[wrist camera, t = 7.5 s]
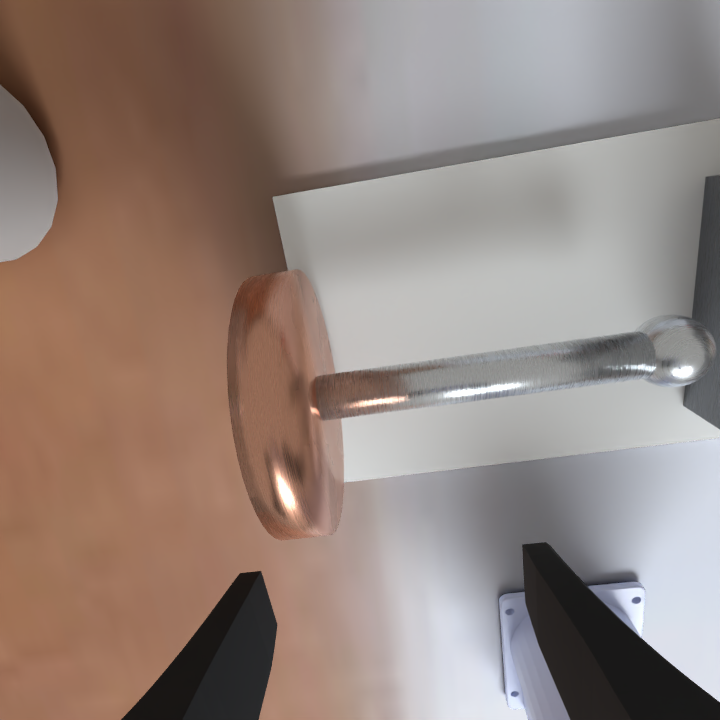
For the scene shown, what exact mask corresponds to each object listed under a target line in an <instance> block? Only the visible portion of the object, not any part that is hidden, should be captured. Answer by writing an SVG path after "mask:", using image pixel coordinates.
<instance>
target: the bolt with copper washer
mask: <svg viewBox="0 0 720 720" xmlns="http://www.w3.org/2000/svg"><path fill="white" fill-rule="evenodd" d="M715 358H716V343H715V340H714V338H713V336H712V334H711V333H710V331H709V330H708V329H707V328H706V327H705V326H704V325H703V324H701V323H700V322H699V321H697V320H695V319H692V318H690V317H687V316H682V315H672V314H670V315H662V316H657V317H654V318H652V319H649V320H647V321H646V322H644V323H642V324H641V325H640V326H639V327H638V328H637V329H636V330H635V331H634V332H627V333H619V334H612V335H605V336H598V337H591V338H584V339H577V340H569V341H562V342H555V343H548V344H541V345H534V346H526V347H519V348H512V349H505V350H498V351H491V352H484V353H476V354H469V355H462V356H455V357H448V358H441V359H433V360H426V361H419V362H412V363H405V364H398V365H391V366H383V367H376V368H369V369H362V370H355V371H348V372H340V373H335V369H334V363H333V358H332V353H331V348H330V343H329V339H328V334H327V330H326V326H325V322H324V319H323V315H322V312H321V308H320V305H319V302H318V299H317V297H316V294H315V292H314V289H313V287H312V285H311V283H310V281H309V279H308V278H307V276H306V275H305V274H304V273H303V272H302V271H301V270H298V269H295V270H289V271H283V272H277V273H270V274H264V275H258V276H253V277H250V278H248V279H247V280H245V281H244V282H243V284H242V285H241V287H240V288H239V290H238V293H237V295H236V298H235V301H234V305H233V308H232V312H231V319H230V325H229V334H228V346H227V378H228V396H229V407H230V416H231V423H232V430H233V437H234V442H235V447H236V452H237V457H238V461H239V465H240V469H241V473H242V477H243V480H244V483H245V486H246V489H247V492H248V495H249V498H250V501H251V503H252V505H253V508H254V510H255V512H256V514H257V516H258V518H259V520H260V521H261V523H262V525H263V526H264V527H265V529H266V530H267V531H268V533H269V534H271V535H272V536H273V537H274V538H276V539H279V540H290V539H299V538H308V537H317V536H327V535H332V534H334V533H335V531H336V529H337V528H338V525H339V521H340V517H341V512H342V504H343V493H344V451H343V434H342V422H341V419H342V418H349V417H357V416H365V415H372V414H380V413H387V412H395V411H403V410H410V409H418V408H426V407H433V406H441V405H449V404H456V403H464V402H471V401H479V400H487V399H494V398H502V397H510V396H517V395H525V394H533V393H540V392H548V391H556V390H563V389H571V388H578V387H586V386H594V385H601V384H609V383H617V382H624V381H632V380H640V379H643V380H645V381H647V382H649V383H651V384H654V385H657V386H661V387H681V386H685V385H688V384H691V383H694V382H696V381H697V380H699V379H700V378H702V377H703V376H704V375H705V374H706V373H707V372H708V371H709V370H710V369H711V367H712V365H713V363H714V361H715Z"/></svg>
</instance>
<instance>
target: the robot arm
mask: <svg viewBox="0 0 720 720" xmlns="http://www.w3.org/2000/svg"><path fill="white" fill-rule="evenodd" d="M522 547H523V568H524V588H525V592H518V593H508V594H504V595H502V596H501V597H500V598H499V608H500V622H501V636H502V650H503V665H504V679H505V693H506V701H507V705H508V707H509V708H511V709H525V711H526V714H527V718H528V720H720V702H719V701H717V700H716V699H715V698H713V697H712V696H711V695H710V694H708V693H707V692H706V691H704V690H703V689H702V688H700V687H699V686H698V685H697V684H695V683H694V682H693V681H692V680H690V679H689V678H688V677H687V676H685V675H684V674H683V673H682V672H680V671H679V670H678V669H677V668H675V667H674V666H673V665H672V664H671V663H669V662H668V661H667V660H666V659H665V658H663V657H662V656H661V655H660V654H659V653H658V652H656V651H655V650H654V649H653V648H652V647H651V646H650V645H648V644H647V643H646V642H645V641H644V640H643V639H642V631H643V619H644V606H645V593H646V592H645V589H644V587H643V586H642V585H641V584H640V583H639V582H624V583H614V584H603V585H593V586H587V585H586V584H585V583H584V582H583V581H582V580H581V579H580V578H579V577H578V576H577V575H576V574H575V573H574V572H573V571H572V570H571V568H570V567H569V566H568V565H567V564H566V563H565V562H564V561H563V560H562V559H561V557H560V556H559V555H558V554H557V553H556V552H555V551H554V549H553V548H552V547H551V546H550V545H549V544H547V543H546V542H544V543H534V544H524V545H522ZM509 608H510V609H509ZM276 631H277V622H276V619H275V616H274V612H273V609H272V606H271V602H270V599H269V596H268V592H267V589H266V586H265V583H264V579H263V576H262V573H261V571H257V572H247V573H240V574H239V575H238V577H237V578H236V579H235V581H234V582H233V583H232V585H231V586H230V587H229V589H228V590H227V591H226V593H225V594H224V595H223V597H222V598H221V600H220V601H219V602H218V604H217V605H216V606H215V608H214V609H213V610H212V612H211V613H210V614H209V616H208V617H207V618H206V620H205V621H204V622H203V624H202V625H201V626H200V628H199V629H198V630H197V632H196V633H195V634H194V635H193V637H192V638H191V639H190V641H189V642H188V643H187V645H186V646H185V647H184V648H183V650H182V651H181V652H180V653H179V655H178V656H177V657H176V658H175V659H174V661H173V662H172V663H171V664H170V665H169V667H168V668H167V669H166V670H165V671H164V673H163V674H162V675H161V676H160V677H159V679H158V680H157V681H156V682H155V683H154V684H153V686H152V687H151V688H150V689H149V690H148V691H147V692H146V694H145V695H144V696H143V697H142V698H141V699H140V700H139V701H138V702H137V704H136V705H135V706H134V707H133V708H132V709H131V710H130V711H129V712H128V713H127V714H126V715H125V716H124V717H123V718H122V719H121V720H258V719H259V715H260V711H261V707H262V703H263V699H264V695H265V691H266V687H267V683H268V679H269V675H270V671H271V667H272V660H273V653H274V647H275V639H276Z"/></svg>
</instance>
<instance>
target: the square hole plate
mask: <svg viewBox="0 0 720 720" xmlns="http://www.w3.org/2000/svg"><path fill="white" fill-rule="evenodd" d="M692 319H695V320H697V321H699V322H700V323H701V324H703V325H704V326H705V327H706V328H707V329H708V330H709V331H710V333H711V334H712V336H713V338H714V340H715V343H716V358H715V361H714V363H713V365H712V367H711V369H710V370H709V371H708V372H707V373H706V374H705V375H704V376H703V377H702V378H700V379H699V380H697V381H696V382H694V383H691V384H688V385H685V391H684V401H683V406H684V407H686V408H687V409H689V410H690V411H692V412H694V413H695V414H697V415H698V416H700V417H701V418H703V419H704V420H706V421H707V422H709V423H710V424H712V425H714V426H715V427H717V428H718V429H720V174H719V175H713V176H707V177H706V178H705V188H704V198H703V208H702V218H701V229H700V239H699V249H698V259H697V269H696V279H695V290H694V300H693V310H692Z"/></svg>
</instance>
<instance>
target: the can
mask: <svg viewBox="0 0 720 720" xmlns="http://www.w3.org/2000/svg"><path fill="white" fill-rule="evenodd" d="M57 202H58V193H57V180H56V168H55V166H54V163H53V160H52V157H51V154H50V152H49V149H48V146H47V143H46V140H45V138H44V136H43V134H42V133H41V131H40V130H39V128H38V127H37V125H36V124H35V122H34V121H33V119H32V118H31V116H30V115H29V113H28V112H27V110H26V109H25V107H24V106H23V105H22V104H21V103H20V102H19V101H18V100H17V99H15V98H14V97H13V96H12V95H11V94H10V93H9V92H8V91H7V90H6V89H5V88H3V87H2V86H1V85H0V262H4V261H10V260H16V259H18V258H19V257H21V256H23V255H24V254H26V253H28V252H29V251H31V250H33V249H34V248H36V247H37V246H38V245H39V243H40V242H41V240H42V239H43V238H44V236H45V235H46V233H47V232H48V231H49V229H50V228H51V226H52V222H53V218H54V214H55V210H56V206H57Z"/></svg>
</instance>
